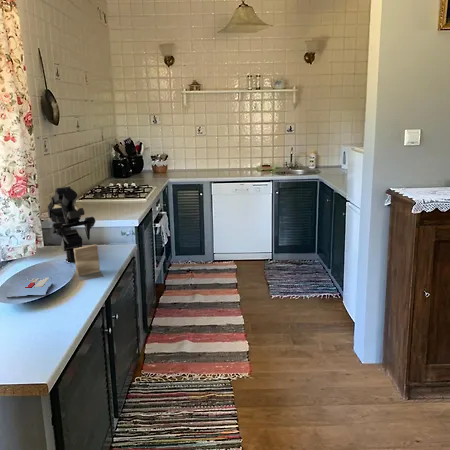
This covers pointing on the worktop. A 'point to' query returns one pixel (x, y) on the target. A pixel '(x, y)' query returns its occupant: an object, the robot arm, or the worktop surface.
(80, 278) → the rubber mat
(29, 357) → the worktop surface
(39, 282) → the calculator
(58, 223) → the robot arm
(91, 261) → the birch tile
